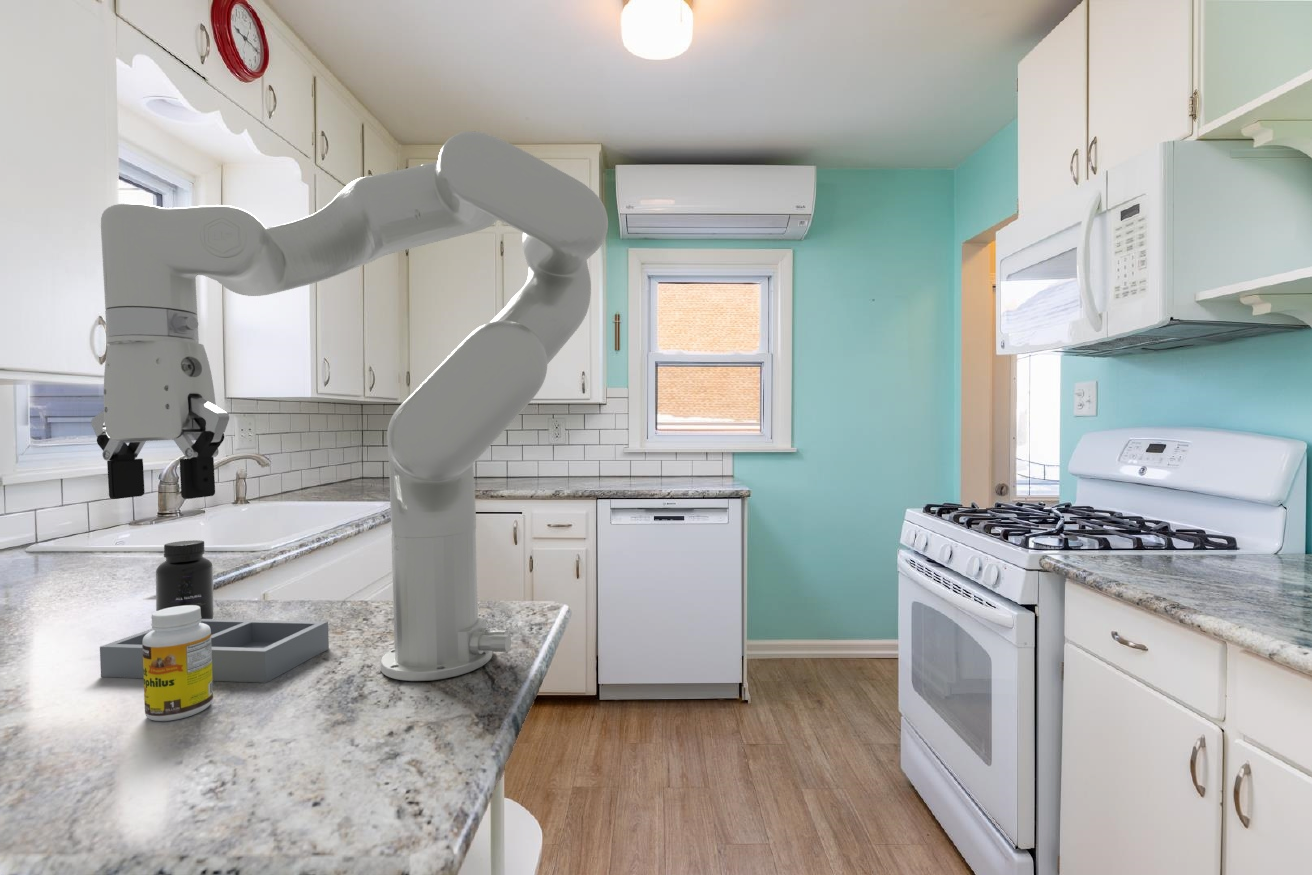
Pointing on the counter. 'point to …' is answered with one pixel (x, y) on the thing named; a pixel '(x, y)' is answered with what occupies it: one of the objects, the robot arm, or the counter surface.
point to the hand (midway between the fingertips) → (162, 497)
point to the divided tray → (233, 649)
